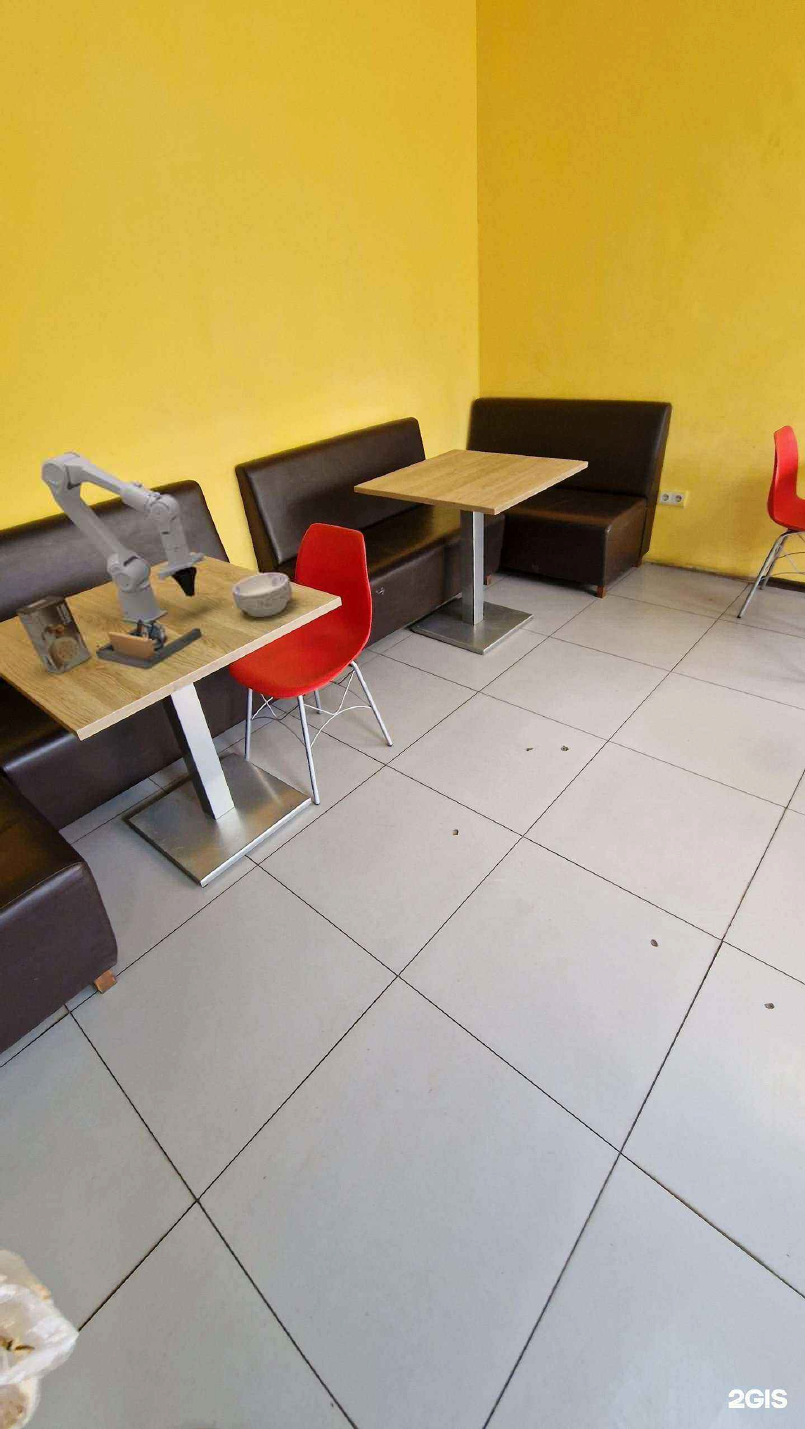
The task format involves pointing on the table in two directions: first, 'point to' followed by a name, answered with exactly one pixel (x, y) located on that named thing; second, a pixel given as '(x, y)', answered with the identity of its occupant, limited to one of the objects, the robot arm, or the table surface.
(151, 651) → the plate
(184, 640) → the rail track
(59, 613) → the coffee box
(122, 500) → the robot arm
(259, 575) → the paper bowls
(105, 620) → the table surface
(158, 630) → the snack package
